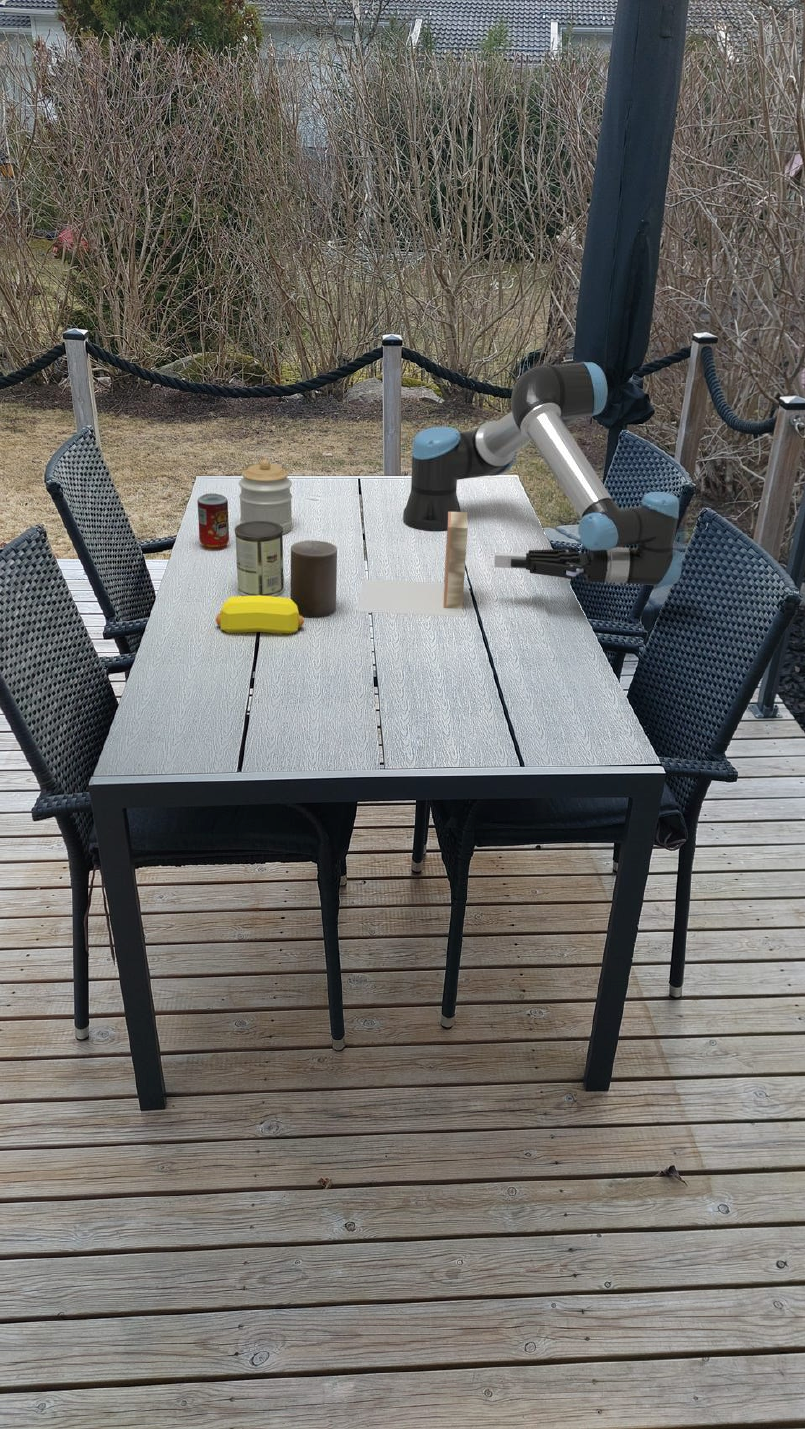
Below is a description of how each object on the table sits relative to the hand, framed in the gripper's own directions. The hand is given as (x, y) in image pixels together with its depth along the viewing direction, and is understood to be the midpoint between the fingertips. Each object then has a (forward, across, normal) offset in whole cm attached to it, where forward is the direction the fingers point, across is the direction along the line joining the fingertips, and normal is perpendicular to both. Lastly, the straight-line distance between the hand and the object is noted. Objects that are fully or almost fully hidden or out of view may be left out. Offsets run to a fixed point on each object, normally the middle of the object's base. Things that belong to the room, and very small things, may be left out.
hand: (495, 560), depth 236 cm
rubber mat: (+18, 0, -10) cm, 20 cm away
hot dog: (+48, -18, -11) cm, 52 cm away
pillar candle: (+38, -6, -10) cm, 40 cm away
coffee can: (+51, +2, -10) cm, 52 cm away
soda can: (+66, +28, -10) cm, 72 cm away
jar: (+55, +42, -10) cm, 70 cm away
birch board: (+9, 0, -10) cm, 13 cm away
